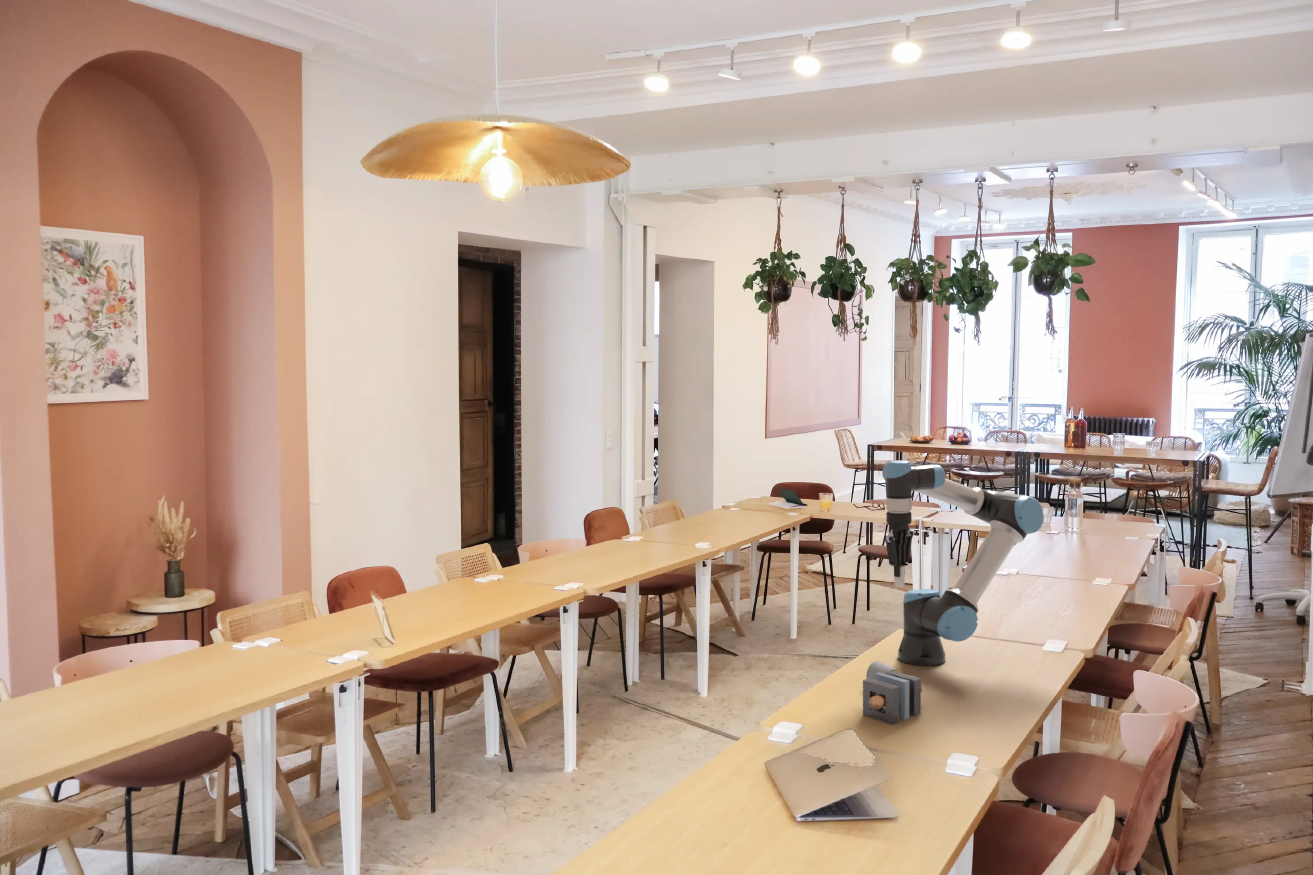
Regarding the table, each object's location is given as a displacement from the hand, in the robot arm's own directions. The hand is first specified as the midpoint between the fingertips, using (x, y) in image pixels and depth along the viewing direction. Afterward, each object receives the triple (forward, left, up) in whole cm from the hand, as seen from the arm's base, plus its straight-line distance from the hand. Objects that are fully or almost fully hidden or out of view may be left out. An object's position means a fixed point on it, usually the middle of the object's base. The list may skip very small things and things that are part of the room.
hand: (899, 586), depth 302 cm
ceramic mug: (+9, +2, -29) cm, 31 cm away
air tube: (+25, +17, -26) cm, 40 cm away
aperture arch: (+27, +17, -29) cm, 43 cm away
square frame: (+22, +17, -29) cm, 40 cm away
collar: (+32, +17, -29) cm, 47 cm away
